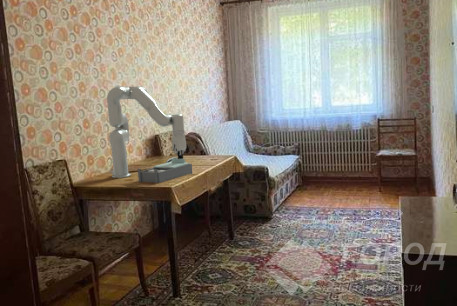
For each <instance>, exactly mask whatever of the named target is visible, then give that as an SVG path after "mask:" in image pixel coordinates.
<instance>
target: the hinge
mask: <svg viewBox="0 0 457 306" xmlns="http://www.w3.org/2000/svg"><path fill="white" fill-rule="evenodd" d="M172 159H178V156H174V157H171V158H169V159H167V160H166V161H165V163H168V162H172Z"/></svg>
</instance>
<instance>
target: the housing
mask: <svg viewBox="0 0 457 306" xmlns="http://www.w3.org/2000/svg"><path fill="white" fill-rule="evenodd" d="M149 170H154V172H148V171H149ZM157 170H158V171H159V170H165V171H162V172H158V171H157ZM186 175H193V164H192V163H189V164H188V165H184V166H181V167H177V168H153V167H152V168H148V169H144V170H142V169H141V168H137V179H138V183H155V184H160V183H164V182H167V181H169V180H173V179H177V178H180V177H182V176H186Z"/></svg>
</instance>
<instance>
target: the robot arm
mask: <svg viewBox="0 0 457 306" xmlns="http://www.w3.org/2000/svg"><path fill="white" fill-rule="evenodd" d="M121 100H135V101H136V102H137V103H138V104H139V106H141V107H142V108H143V109H144V110H145V111H146V113H147V114H148V115H149V116H150V118H151V119H152V120H153V121H155V123H157V124H158V125H159V126H160V127H162V128H166V127H168V126H171V127H172V137H171V150H172V152H174V154H176V156H177V158H178V159H184V155H185V154H184V153H185V152H186V149H187V139H186V135H185V125H184V124H185V123H184V114H180V113H178V114H177V113H176V114H175V113H174V114H165V113H164V112H163V111H161V110H160V108H159V107H158V105H157V103H156V102H157V101H156V100H155V99H154V98H153V97H152V96H150V94H149V93H148V89H147V88H145V87H144V86H138V85H137V86H123V85H121V86H120V85H119V86H114V87H112V88H111V89H110V90H109V92H107V95H106V103H107V113H108V114H107V115H108V122H109V126H111V127H113V128H115V129H114V130H112V131H110V133H109V136H108V139H109V144H110V148H111V150H110V151H111V157H112V167H113V168H112V170H111V171H110V173H111V174H112V175H111V178H113V179H116V178H117V179H121V178H127V177H130V176H132V173H130V172H129V166H128V155H127V154H128V153H127V147H126V144H125V143H126V142H127V141H128V140H129V138H130V127H129V126H130V125H129V118H128V116H127V115H126V114H125V113H124V112H123V111H122V104H121Z"/></svg>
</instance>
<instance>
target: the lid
mask: <svg viewBox="0 0 457 306" xmlns="http://www.w3.org/2000/svg"><path fill="white" fill-rule="evenodd" d="M188 164H190V162H186V159H185V158H183V159H172V162H168V163H166V162H165V163H161V164H157V165H153V166H152V168H177V167H181V166H184V165H188Z"/></svg>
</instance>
